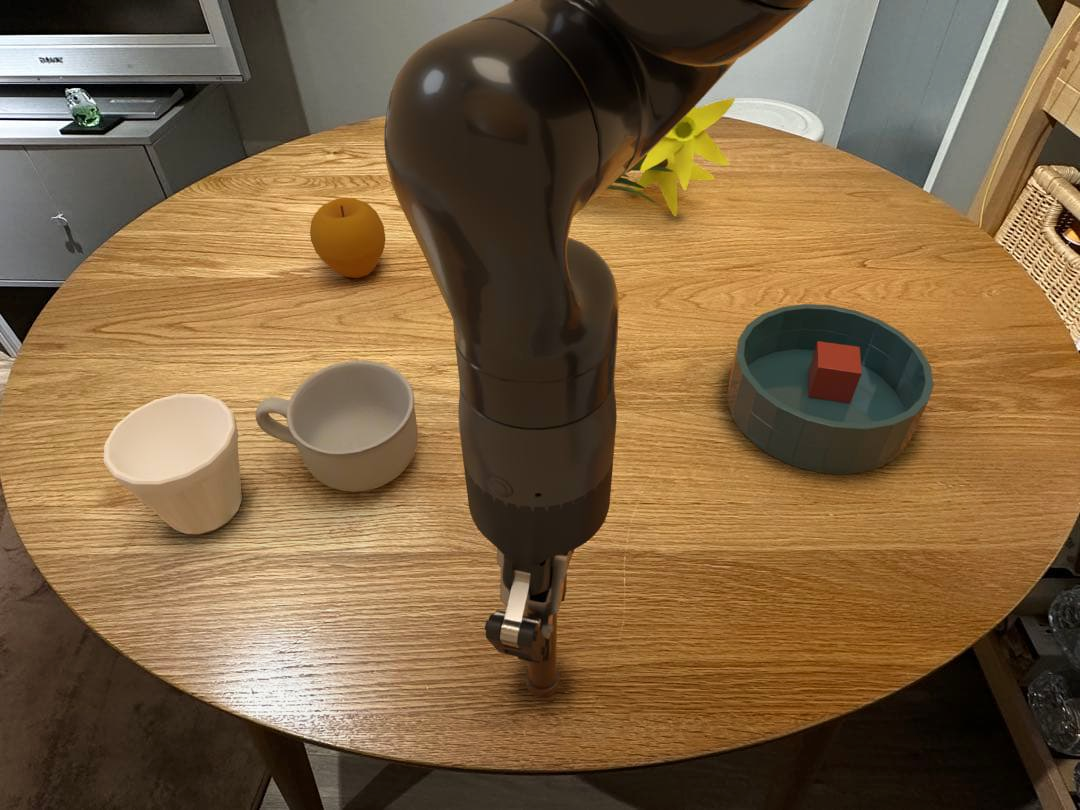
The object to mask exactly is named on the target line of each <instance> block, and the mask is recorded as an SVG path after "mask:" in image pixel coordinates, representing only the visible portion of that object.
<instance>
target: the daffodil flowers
mask: <svg viewBox="0 0 1080 810" xmlns="http://www.w3.org/2000/svg"><path fill="white" fill-rule="evenodd" d="M735 100H736V98H735V97H731V98H726V99H720V100H717V101H714V102H711V103H708V104H705V105H702V106H699V107H697V105H696V106H695V107H694V108H693V109H692V110H691V111H690V112H689V113H688V114H687V115H686V116H685V117H684V118H683V119H682V120H681V121H680V122H679V123H678V124H677V125H676V126H675V127H674V128H673V129H672V130H671V131H670V132H669V133H668V134H667V135H666V136H665V137H664V138H663V139H662V140H661V141H660V142H659V143H658V144H657V145H656V146H655V147H654V148H653V149H652V150H651V151H650V152H649V153H648V154H646V155H645V156H644V157H643V158H642V159H641V160H640V161H639V162H638V163H637V164H636V165H634V166H633V167H632V168H631V169H630V170H629V171H628V172H626V173H625V174H624V175H623V176H622V177H620V178H619V179H618V180H617V181H616V182H614V183H613V184H620V185H613V184H612V185H611V186H610V187H608V188H607V189H606V190H613V191H623V192H629V193H630V194H635V195H638V196H640V197H641V198H644V199H645V200H647V201H649V202H651V203H653V204H655V205H656V206H658V207H659V208H661V207H662V206H661V205H660V204H659V203H657V202H656V201H655V200H653V198H651V197H650V196H647V195H646V194H645V193H643V192H641V191H643V190H645V189H647V188H648V187H650V186H653V185H654V184H656V183H658V186H659V189H660V192H661V193H662V196H663V199H664V201H665V202H666V204H667V207H668V208H669V210H670V212H671V213H672V215H673V216H674V217H677V214H678V183H677V182H678V181H677V180H679V183H680V186H681V188H682V189H683V191H684V192H686V191H687V189H688V186H689V182H690V181H715V180H716V179H715V177H714V176H713V175H712V174H711V172H709V171H707V169H705V168H703V167H702V166H700V165H698V164H696V163H694V160H695V159H694V158H695V154H696V155H698V156H699V157H701V158H703V159H705V160H707V161H709V162H712V163H714V164H717V165H721V166H729V165H730V162H729V161H728V159H727V158H726V156H725V154H724V153H723V151H722V150H721V149H720V147H719V146H718V145H717V143H716V142H715V141H714V140H713V138H712V137H710V135H709V134H708V133H707V132H706V131H705V130H707V129H708V128H709V127H710V126H712V125H713V124H715V123H717V122H718V121H719V120H720V119H722V117H723V116H724V115H726V113H727V112H728V111H729V110H730V108H731V107H732V105H734V103H735ZM632 171H633V172H634V171H635V172H637V171H638V172H639V173H642V174H641V175H640V177H639V178H638V180H636V182H635V181H633V180H630V179H628V178H629V175H628V173H630V172H632ZM622 185H626V186H622ZM627 186H630V187H627ZM631 187H632V188H631Z"/></svg>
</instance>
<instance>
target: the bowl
mask: <svg viewBox="0 0 1080 810" xmlns="http://www.w3.org/2000/svg"><path fill="white" fill-rule="evenodd" d="M818 341H820V342H827V343H834V344H842V345H849V346H856V347H860V358H861V370H862V374H861V377H860V380H859V382H858V385H857V388H856V390H855V393H854V396H853V398H852V401H851V403H844V402H837V401H830V400H824V399H817V398H810V397H808V370H809V367H810V364H811V360H812V357H813V354H814V351H815V347H816V344H817V342H818ZM934 385H935V384H934V378H933V372H932V367H931V363H930V362H929V361H928V359H927V358H926V356H925V355H924V353H923V352H922V349H921V348H919V347H918V346H917V344H915V343H914V342H913V341H912V340H911V339H910V338H909V337H907V336H906V335H905V333H903V332H902V331H900V330H899V329H897V328H896V327H894V326H892V325H890V324H889V323H887V322H885V321H883V319H882V320H881V319H879V318H876V317H874V316H872V315H869V314H866V313H863V312H861V311H858V310H854V309H850V308H846V307H842V306H841V307H840V306H836V305H830V304H816V303H815V304H812V303H802V304H794V305H788V306H787V305H786V306H781V307H778V308H775V309H772V310H770V311H767V312H764V313H762V314H759V316H757V317H756V318H755V319H753V320H752V321H751V322H749V323H748V324H747V325H746V326H745V328H744V329H743V331H742V333H741V334H740V336H739V337H738V339H737V343H736V348H735V352H734V357H733V362H732V366H731V369H730V376H729V380H728V388H727V393H726V395H727V397H726V399H727V407H728V409H729V412H730V416H731V418H732V419H733V421H734V423H735V425H736V426H737V428H738V429H739V430H740V431H741V433H742V434H743V435H744V436H745V437H746V439H748V441H750V443H752V444H754V445H755V446H756V447H757V448H758V449H760V450H761V451H762V452H764V453H766V454H767V455H769V456H771V457H773V458H775V459H776V460H779V461H780V462H783V463H785V464H788V465H790V466H792V467H796V468H799V469H802V470H806V471H811V472H814V473H815V472H816V473H821V474H828V475H853V474H861V473H866V472H870V471H873V470H876V469H879V468H881V467H883V466H886V465H887V464H889V463H891V462H892V461H894V460H895V459H897V458H898V457H899V455H901V454H902V453H903V451H904V450H905V449H906V447H907V446H908V444H909V443H910V441H911V440H912V437H913V435H914V433H915V431H916V429H917V426H918V424H919V422H920V420H921V418H922V416H923V414H924V412H925V410H926V408H927V406H928V403H929V402H930V398H931V395H932V392H933V390H934Z"/></svg>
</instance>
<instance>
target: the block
mask: <svg viewBox="0 0 1080 810" xmlns="http://www.w3.org/2000/svg"><path fill="white" fill-rule="evenodd" d="M861 374H862V370H861V358H860V347H856V346H849V345H842V344H834V343H827V342H820V341H818V342H817V344H816V347H815V351H814V354H813V357H812V360H811V364H810V367H809V370H808V397H810V398H817V399H824V400H830V401H837V402H844V403H851V401H852V398H853V396H854V393H855V390H856V388H857V385H858V382H859V380H860V377H861Z"/></svg>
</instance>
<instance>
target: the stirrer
mask: <svg viewBox="0 0 1080 810" xmlns="http://www.w3.org/2000/svg"><path fill="white" fill-rule="evenodd" d="M551 586H552V585H551ZM551 586H550V587H549V588H551ZM529 613H530V614H535V615H540V616H541V613H540V612H538V611H534V610H530V609H529ZM552 625H554V627H553V632H552V650H551V654H550V658H549V661H547V662H541V664H537V663H532V662H528V661H527V670H526V671H525V684H526V688H527V690H528V692H529V693H530V694H531V695H532V696H534V697H536V698H540V699H546V698H550V697H551V696H554V694H555V693H556V692H557V691H558V689H559V687H560V671H559V669H558V653H557V652H558V613H556V614H554V615H553V621H552Z"/></svg>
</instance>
